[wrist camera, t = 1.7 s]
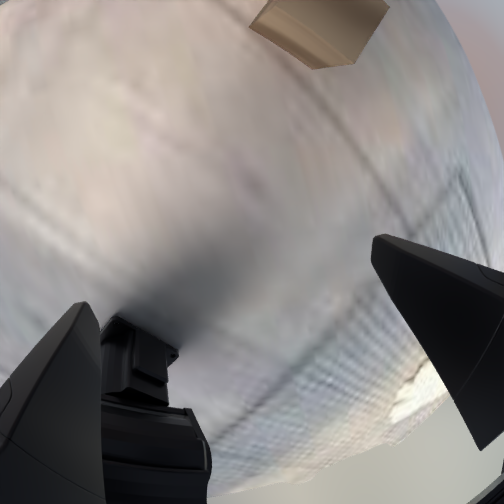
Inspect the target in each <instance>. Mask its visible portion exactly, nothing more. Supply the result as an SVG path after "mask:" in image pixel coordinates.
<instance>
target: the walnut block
mask: <svg viewBox="0 0 504 504" xmlns="http://www.w3.org/2000/svg"><path fill="white" fill-rule="evenodd" d="M389 8H390V7H389V6H388V5H387V4H386V3H385V2H384V1H383V0H269V1H268V2H267V4H266V5H265V6H264V7H263V9H262V10H261V11H260V13H259V14H258V15H257V17H256V18H255V19H254V21H253V22H252V23H251V25H250V26H249V28H250V29H252V30H254V31H255V32H257V33H259V34H260V35H262V36H264V37H265V38H267V39H268V40H270V41H272V42H273V43H275V44H276V45H278V46H279V47H281V48H282V49H284V50H285V51H287V52H288V53H290V54H291V55H293V56H294V57H296V58H297V59H298V60H300V61H301V62H303V63H304V64H305V65H307V66H308V67H310V68H311V69H312V70H313V69H319V68H326V67H333V66H340V65H349V64H354V63H355V62H356V60H357V58H358V57H359V55H360V54H361V52H362V50H363V49H364V47H365V46H366V44H367V42H368V41H369V39H370V38H371V36H372V34H373V33H374V31H375V30H376V28H377V27H378V25H379V23H380V22H381V20H382V19H383V17H384V15H385V14H386V12H387V11H388V9H389Z"/></svg>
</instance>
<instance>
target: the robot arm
mask: <svg viewBox="0 0 504 504" xmlns="http://www.w3.org/2000/svg"><path fill="white" fill-rule="evenodd" d="M371 263H372V265H373V267H374V269H375V271H376V273H377V274H378V276H379V278H380V280H381V282H382V283H383V285H384V287H385V289H386V291H387V293H388V295H389V296H390V298H391V300H392V301H393V303H394V305H395V306H396V308H397V309H398V311H399V312H400V314H401V315H402V317H403V318H404V320H405V321H406V323H407V324H408V326H409V327H410V329H411V330H412V332H413V333H414V335H415V337H416V338H417V340H418V341H419V343H420V345H421V346H422V348H423V349H424V351H425V353H426V354H427V356H428V357H429V359H430V361H431V362H432V364H433V366H434V367H435V369H436V371H437V373H438V374H439V376H440V378H441V379H442V381H443V383H444V385H445V386H446V388H447V390H448V392H449V393H450V395H451V397H452V399H453V400H454V403H455V404H456V406H457V408H458V410H459V412H460V414H461V416H462V417H463V419H464V421H465V423H466V425H467V427H468V429H469V431H470V433H471V435H472V437H473V439H474V441H475V443H476V445H477V447H478V449H479V450H480V451H482V450H483V449H484V448H485V447H486V446H487V445H489V444H490V443H491V442H492V441H494V440H495V439H496V438H497V437H498V436H499V435H500V434H501V433H503V432H504V273H503V272H500V271H497V270H494V269H491V268H488V267H486V266H483V265H480V264H476V263H474V262H471V261H468V260H466V259H463V258H460V257H457V256H454V255H451V254H448V253H445V252H442V251H439V250H436V249H433V248H430V247H427V246H424V245H420V244H417V243H414V242H411V241H408V240H404V239H401V238H398V237H395V236H391V235H388V234H381V235H377V236H375V237H374V238H373V242H372V251H371ZM115 322H117V323H119V324H115ZM172 354H173V355H172ZM178 357H179V353H178V350H177V349H175V348H173V347H171V346H169V345H167V344H166V343H164V342H163V341H161V340H159V339H157V338H155V337H153V336H152V335H150V334H148V333H146V332H144V331H143V330H141V329H139V328H137V327H135V326H133V325H132V324H130V323H128V322H126V321H125V320H123V319H121V318H120V317H112V318H111V319H110V321H109V322H108V323H107V324H106V326H105V327H104V328H103V329H102V331H101V332H100V327H99V323H98V320H97V319H96V317H95V315H94V313H93V311H92V309H91V307H90V305H89V304H88V303H87V302H86V301H83V302H78V303H75V304H73V305H72V306H71V307H70V308H69V310H68V311H67V312H66V313H65V314H64V315H63V316H62V317H61V318H60V319H59V320H58V321H57V322H56V323H55V325H54V326H53V327H52V328H51V329H50V330H49V331H48V332H47V333H46V334H45V336H44V337H43V338H42V339H41V340H40V341H39V342H38V343H37V345H36V346H35V347H34V348H33V349H32V350H31V352H30V353H29V354H28V355H27V356H26V357H25V359H24V360H23V361H22V362H21V363H20V364H19V366H18V367H17V368H16V369H15V371H14V372H13V373H12V374H11V375H10V378H8V379H7V380H6V382H5V383H4V384H3V385H2V387H1V388H0V504H207V485H208V481H209V479H210V476H211V470H212V457H211V451H210V447H209V445H208V442H207V440H206V438H205V436H204V434H203V432H202V430H201V428H200V426H199V424H198V422H197V420H196V417H195V415H194V413H193V411H192V409H189V408H183V409H181V408H174V407H167V406H169V399H168V389H167V383H168V381H169V380H168V370H167V368H168V367H169V366H170V365H171V364H172V363H173V362H174V361H175V360H176V359H177V358H178ZM501 474H502V475H501V476H499V477H498V478H497V479H496V480H495V481H494V482H493V483H492V484H490V485H489V486H488V487H487V488H486V489H484V490H483V491H482V492H481V493H480V494H478V495H477V496H476V497H475V498H473V499H472V500H471V501H470V502H468V503H467V504H504V462H503V467H502V472H501Z"/></svg>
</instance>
